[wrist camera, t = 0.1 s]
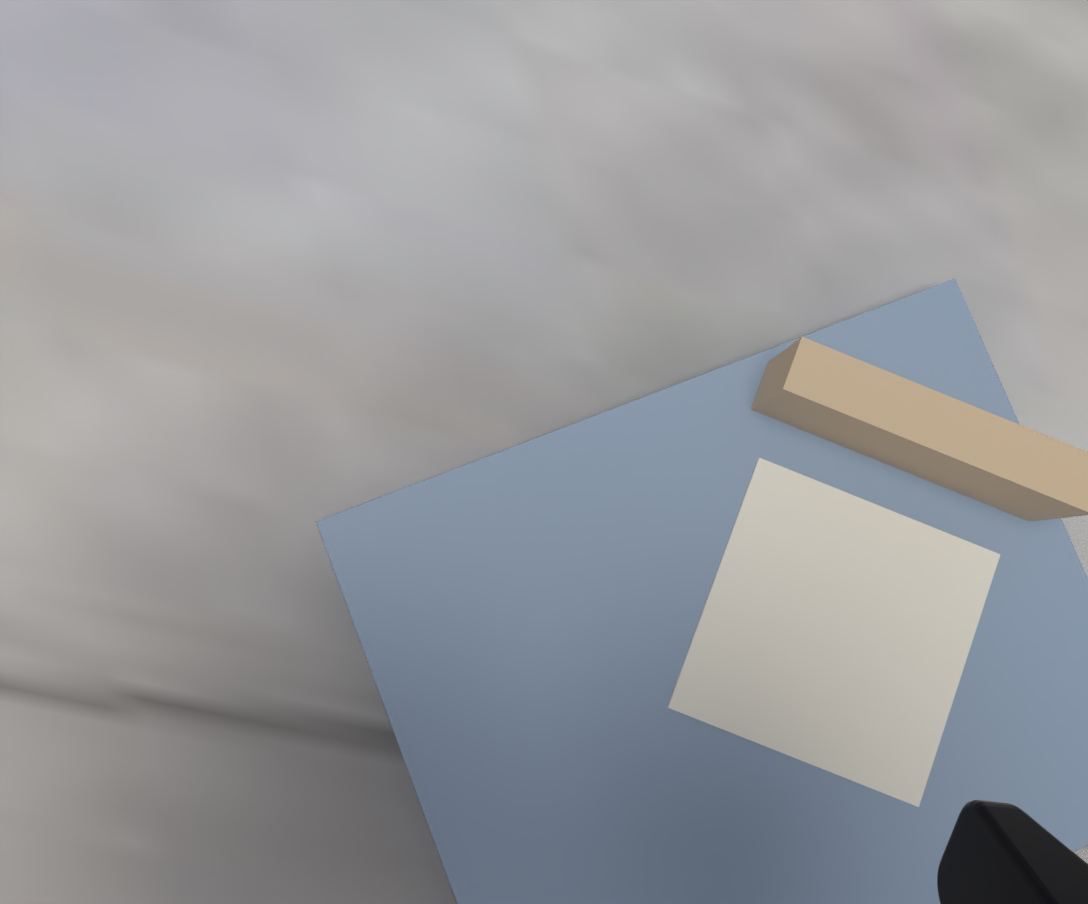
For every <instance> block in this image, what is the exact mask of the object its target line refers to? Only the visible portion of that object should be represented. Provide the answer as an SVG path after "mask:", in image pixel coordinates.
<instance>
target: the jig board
mask: <svg viewBox="0 0 1088 904" xmlns="http://www.w3.org/2000/svg"><path fill="white" fill-rule="evenodd" d="M1082 515H1088V452H1086V451H1083V450H1081V449H1078V448H1076V447H1073V446H1071V445H1068V444H1066V443H1064V442H1061V441H1059V440H1056V439H1054V438H1051V437H1049V436H1046V435H1044V434H1041V433H1039V432H1036V431H1034V430H1031V429H1029V428H1027V427H1024V426H1022V425H1019V422H1018V420H1017V418H1016V416H1015V413H1014V411H1013V409H1012V406H1011V404H1010V402H1009V400H1008V397H1007V395H1006V393H1005V391H1004V388H1003V386H1002V384H1001V382H1000V379H999V377H998V375H997V373H996V370H995V368H994V366H993V364H992V361H991V359H990V357H989V354H988V352H987V350H986V348H985V345H984V343H983V341H982V339H981V336H980V334H979V332H978V330H977V327H976V325H975V323H974V321H973V318H972V316H971V314H970V312H969V309H968V307H967V305H966V303H965V300H964V298H963V296H962V293H961V291H960V289H959V287H958V284H957V282H956V280H955V279H952V280H950V281H947V282H944V283H942V284H939V285H937V286H934V287H931V288H929V289H926V290H923V291H921V292H918V293H916V294H913V295H910V296H908V297H905V298H902V299H900V300H897V301H895V302H892V303H889V304H887V305H884V306H881V307H879V308H876V309H874V310H871V311H868V312H866V313H863V314H860V315H858V316H855V317H852V318H850V319H847V320H845V321H842V322H839V323H837V324H834V325H831V326H829V327H826V328H824V329H821V330H818V331H816V332H813V333H810V334H808V335H805V336H803V337H800V338H797V339H795V340H792V341H789V342H787V343H784V344H782V345H779V346H776V347H774V348H771V349H768V350H766V351H763V352H761V353H758V354H755V355H753V356H750V357H747V358H745V359H742V360H739V361H737V362H734V363H732V364H729V365H726V366H724V367H721V368H718V369H716V370H713V371H711V372H708V373H705V374H703V375H700V376H697V377H695V378H692V379H690V380H687V381H684V382H682V383H679V384H676V385H674V386H671V387H669V388H666V389H663V390H661V391H658V392H655V393H653V394H650V395H648V396H645V397H642V398H640V399H637V400H634V401H632V402H629V403H626V404H624V405H621V406H619V407H616V408H613V409H611V410H608V411H605V412H603V413H600V414H598V415H595V416H592V417H590V418H587V419H584V420H582V421H579V422H577V423H574V424H571V425H569V426H566V427H563V428H561V429H558V430H556V431H553V432H550V433H548V434H545V435H542V436H540V437H537V438H535V439H532V440H529V441H527V442H524V443H521V444H519V445H516V446H513V447H511V448H508V449H506V450H503V451H500V452H498V453H495V454H492V455H490V456H487V457H485V458H482V459H479V460H477V461H474V462H471V463H469V464H466V465H464V466H461V467H458V468H456V469H453V470H450V471H448V472H445V473H443V474H440V475H437V476H435V477H432V478H429V479H427V480H424V481H422V482H419V483H416V484H414V485H411V486H408V487H406V488H403V489H400V490H398V491H395V492H393V493H390V494H387V495H385V496H382V497H379V498H377V499H374V500H372V501H369V502H366V503H364V504H361V505H358V506H356V507H353V508H351V509H348V510H345V511H343V512H340V513H337V514H335V515H332V516H330V517H327V518H324V519H322V520H319V521H316V523H317V526H318V529H319V531H320V534H321V537H322V539H323V542H324V545H325V547H326V550H327V553H328V556H329V558H330V561H331V564H332V566H333V569H334V572H335V575H336V577H337V580H338V583H339V585H340V588H341V591H342V593H343V596H344V599H345V602H346V604H347V607H348V610H349V612H350V615H351V618H352V620H353V623H354V626H355V629H356V631H357V634H358V637H359V639H360V642H361V645H362V648H363V650H364V653H365V656H366V658H367V661H368V664H369V666H370V669H371V672H372V675H373V677H374V680H375V683H376V685H377V688H378V691H379V693H380V696H381V699H382V702H383V704H384V707H385V710H386V712H387V715H388V718H389V721H390V723H391V726H392V729H393V731H394V734H395V737H396V739H397V742H398V745H399V748H400V750H401V753H402V756H403V758H404V761H405V764H406V767H407V769H408V772H409V775H410V777H411V780H412V783H413V785H414V788H415V791H416V794H417V796H418V799H419V802H420V804H421V807H422V810H423V812H424V815H425V818H426V821H427V823H428V826H429V829H430V831H431V834H432V837H433V840H434V842H435V845H436V848H437V850H438V853H439V856H440V858H441V861H442V864H443V867H444V869H445V872H446V875H447V877H448V880H449V883H450V886H451V888H452V891H453V894H454V896H455V899H456V902H457V904H940V900H939V895H938V888H937V873H938V867H939V864H940V861H941V858H942V856H943V853H944V851H945V848H946V846H947V843H948V841H949V838H950V836H951V833H952V831H953V828H954V826H955V823H956V821H957V819H958V816H959V814H960V812H961V810H962V808H963V806H964V805H965V804H966V803H967V802H969V801H972V800H984V801H993V802H1002V803H1009V804H1013V805H1015V806H1017V807H1019V808H1020V809H1021V810H1023V811H1024V812H1025V813H1027V814H1028V815H1029V816H1030V817H1031V818H1033V819H1034V820H1035V821H1036V822H1037V823H1039V824H1040V825H1041V826H1042V827H1043V828H1045V829H1046V830H1047V831H1048V832H1050V833H1051V834H1052V835H1053V836H1054V837H1056V838H1057V839H1058V840H1059V841H1060V842H1062V843H1063V844H1064V845H1065V846H1066V847H1068V848H1069V849H1070V850H1071V851H1072V852H1074V851H1076V850H1078V849H1080V848H1083V847H1085V846H1087V845H1088V578H1087V576H1086V574H1085V572H1084V569H1083V567H1082V565H1081V562H1080V560H1079V558H1078V556H1077V553H1076V551H1075V549H1074V547H1073V544H1072V542H1071V540H1070V538H1069V535H1068V533H1067V531H1066V529H1065V526H1064V524H1063V522H1062V520H1061V518H1064V517H1073V516H1082Z"/></svg>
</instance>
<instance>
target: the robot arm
mask: <svg viewBox="0 0 1088 904" xmlns="http://www.w3.org/2000/svg"><path fill="white" fill-rule="evenodd" d="M937 888H938V895H939V900H940V904H1088V864H1087V863H1086V862H1085V861H1083V860H1082V859H1081V858H1080V857H1079V856H1077V855H1076V854H1075V853H1074V852H1072V851H1071V850H1070V849H1069V848H1068V847H1066V846H1065V845H1064V844H1063V843H1062V842H1060V841H1059V840H1058V839H1057V838H1056V837H1054V836H1053V835H1052V834H1051V833H1050V832H1048V831H1047V830H1046V829H1045V828H1043V827H1042V826H1041V825H1040V824H1039V823H1037V822H1036V821H1035V820H1034V819H1033V818H1031V817H1030V816H1029V815H1028V814H1027V813H1025V812H1024V811H1023V810H1021V809H1020V808H1019V807H1017V806H1015V805H1013V804H1009V803H1002V802H993V801H984V800H972V801H969V802H967V803H966V804H965V805H964V806H963V808H962V810H961V812H960V814H959V816H958V819H957V821H956V823H955V826H954V828H953V831H952V833H951V836H950V838H949V841H948V843H947V846H946V848H945V851H944V853H943V856H942V858H941V861H940V864H939V867H938V873H937Z"/></svg>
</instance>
